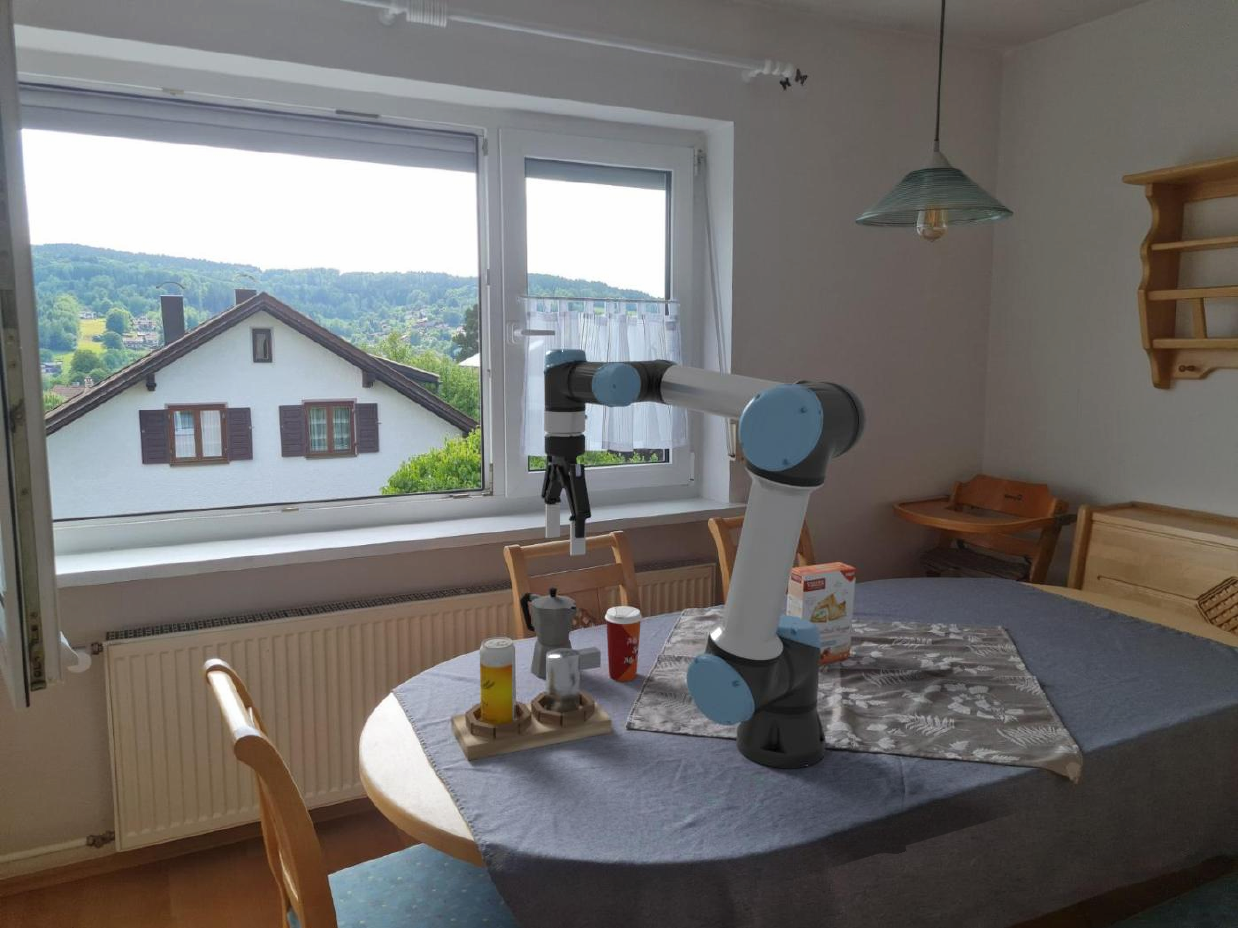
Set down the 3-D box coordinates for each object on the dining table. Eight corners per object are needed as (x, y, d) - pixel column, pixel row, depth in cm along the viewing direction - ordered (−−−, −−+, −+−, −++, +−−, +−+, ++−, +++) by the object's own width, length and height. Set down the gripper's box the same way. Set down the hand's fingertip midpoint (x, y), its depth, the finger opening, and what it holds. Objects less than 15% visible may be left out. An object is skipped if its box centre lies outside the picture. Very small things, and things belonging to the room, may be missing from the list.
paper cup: (637, 685, 174) (638, 618, 172) (600, 681, 175) (601, 615, 173) (644, 670, 181) (645, 606, 179) (608, 666, 183) (609, 603, 181)
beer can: (482, 716, 154) (481, 636, 151) (516, 715, 154) (515, 635, 152) (479, 732, 148) (478, 649, 146) (515, 731, 148) (514, 648, 146)
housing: (611, 732, 154) (611, 708, 153) (467, 760, 143) (467, 735, 143) (586, 705, 165) (586, 682, 164) (451, 729, 154) (451, 705, 153)
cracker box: (799, 669, 183) (804, 574, 179) (782, 659, 188) (786, 567, 185) (851, 659, 188) (857, 567, 185) (834, 649, 194) (839, 560, 190)
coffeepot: (591, 670, 181) (592, 588, 178) (563, 685, 173) (563, 599, 170) (535, 653, 190) (535, 575, 187) (506, 667, 182) (505, 585, 179)
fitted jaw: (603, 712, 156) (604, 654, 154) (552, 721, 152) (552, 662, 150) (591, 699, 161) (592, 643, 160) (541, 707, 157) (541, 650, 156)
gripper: (610, 441, 149) (609, 560, 152) (561, 424, 171) (561, 528, 175) (569, 443, 146) (569, 564, 149) (524, 426, 168) (525, 532, 172)
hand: (564, 545), depth 162 cm, fingers open, 13 cm apart
